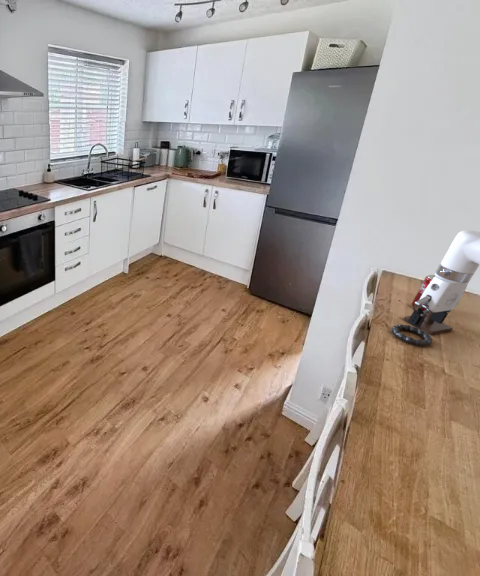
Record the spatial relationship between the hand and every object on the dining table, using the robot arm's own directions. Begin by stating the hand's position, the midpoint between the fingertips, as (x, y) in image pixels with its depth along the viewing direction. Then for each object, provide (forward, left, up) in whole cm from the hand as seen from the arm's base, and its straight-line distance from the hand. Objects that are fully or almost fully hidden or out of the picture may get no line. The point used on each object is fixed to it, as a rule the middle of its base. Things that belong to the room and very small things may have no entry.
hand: (424, 323), depth 114 cm
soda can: (+11, -19, -5) cm, 23 cm away
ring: (-1, +4, -4) cm, 5 cm away
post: (+3, -9, -4) cm, 11 cm away
